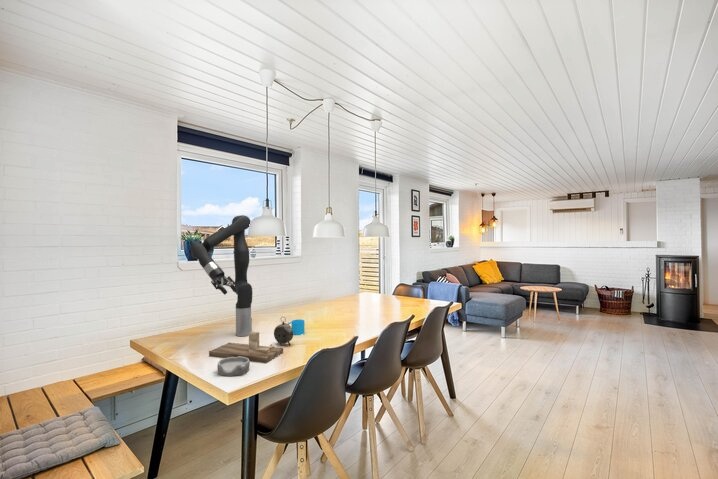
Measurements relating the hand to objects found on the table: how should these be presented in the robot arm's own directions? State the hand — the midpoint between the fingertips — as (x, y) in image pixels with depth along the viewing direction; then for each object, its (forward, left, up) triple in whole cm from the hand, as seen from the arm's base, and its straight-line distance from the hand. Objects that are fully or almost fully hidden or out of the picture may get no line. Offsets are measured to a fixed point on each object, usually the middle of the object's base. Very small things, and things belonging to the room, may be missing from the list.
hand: (231, 292), depth 194 cm
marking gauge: (+6, +25, -28) cm, 38 cm away
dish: (+29, +24, -31) cm, 49 cm away
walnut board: (+8, +16, -31) cm, 35 cm away
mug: (-36, +21, -31) cm, 52 cm away
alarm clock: (-12, +26, -31) cm, 42 cm away
